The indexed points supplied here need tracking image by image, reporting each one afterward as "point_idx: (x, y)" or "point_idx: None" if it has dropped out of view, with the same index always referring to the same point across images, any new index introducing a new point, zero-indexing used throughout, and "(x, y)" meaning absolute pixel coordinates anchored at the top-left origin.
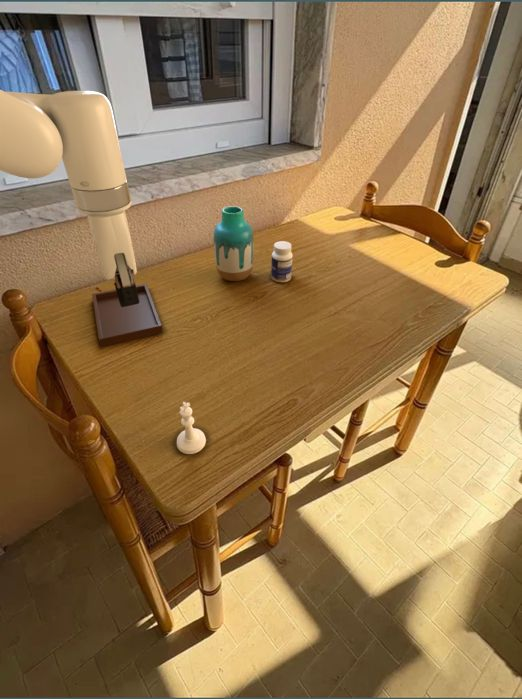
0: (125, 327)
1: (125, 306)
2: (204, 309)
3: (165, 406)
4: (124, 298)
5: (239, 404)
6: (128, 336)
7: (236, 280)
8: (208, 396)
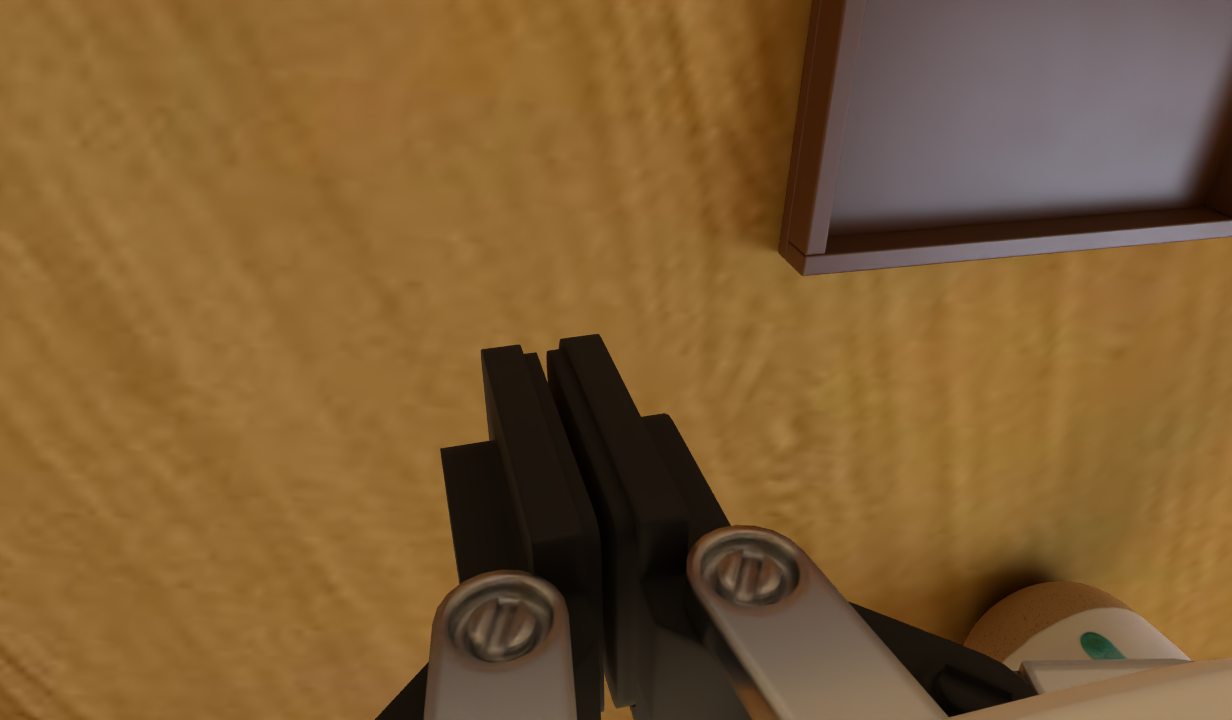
0: (934, 37)
1: (484, 386)
2: (858, 473)
3: (87, 180)
4: (450, 495)
5: (44, 541)
6: (822, 49)
7: (967, 640)
8: (137, 414)
